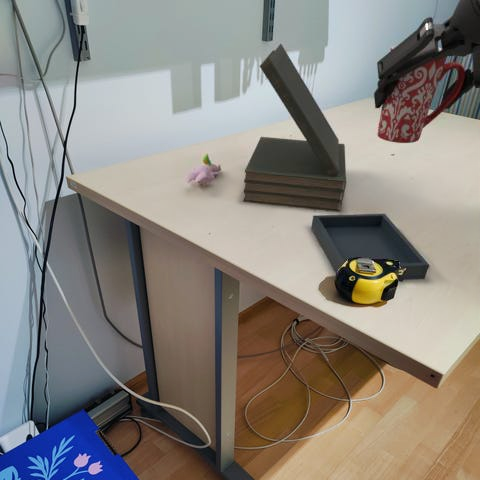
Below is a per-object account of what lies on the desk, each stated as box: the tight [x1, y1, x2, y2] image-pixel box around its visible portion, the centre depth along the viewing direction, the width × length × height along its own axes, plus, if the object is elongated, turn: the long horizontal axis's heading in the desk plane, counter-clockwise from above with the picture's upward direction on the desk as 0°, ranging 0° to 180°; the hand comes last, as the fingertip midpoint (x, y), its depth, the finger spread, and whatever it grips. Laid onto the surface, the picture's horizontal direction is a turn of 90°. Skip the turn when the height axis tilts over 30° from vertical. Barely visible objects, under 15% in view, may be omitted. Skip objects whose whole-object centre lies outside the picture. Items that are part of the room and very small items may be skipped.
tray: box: [310, 213, 431, 281], centre depth 71 cm, size 14×18×3 cm
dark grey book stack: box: [243, 43, 347, 213], centre depth 85 cm, size 23×20×25 cm
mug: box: [376, 45, 466, 144], centre depth 71 cm, size 13×9×14 cm
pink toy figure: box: [185, 153, 223, 186], centre depth 91 cm, size 6×6×15 cm
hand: (411, 101), depth 74 cm, fingers closed on mug, 12 cm apart
